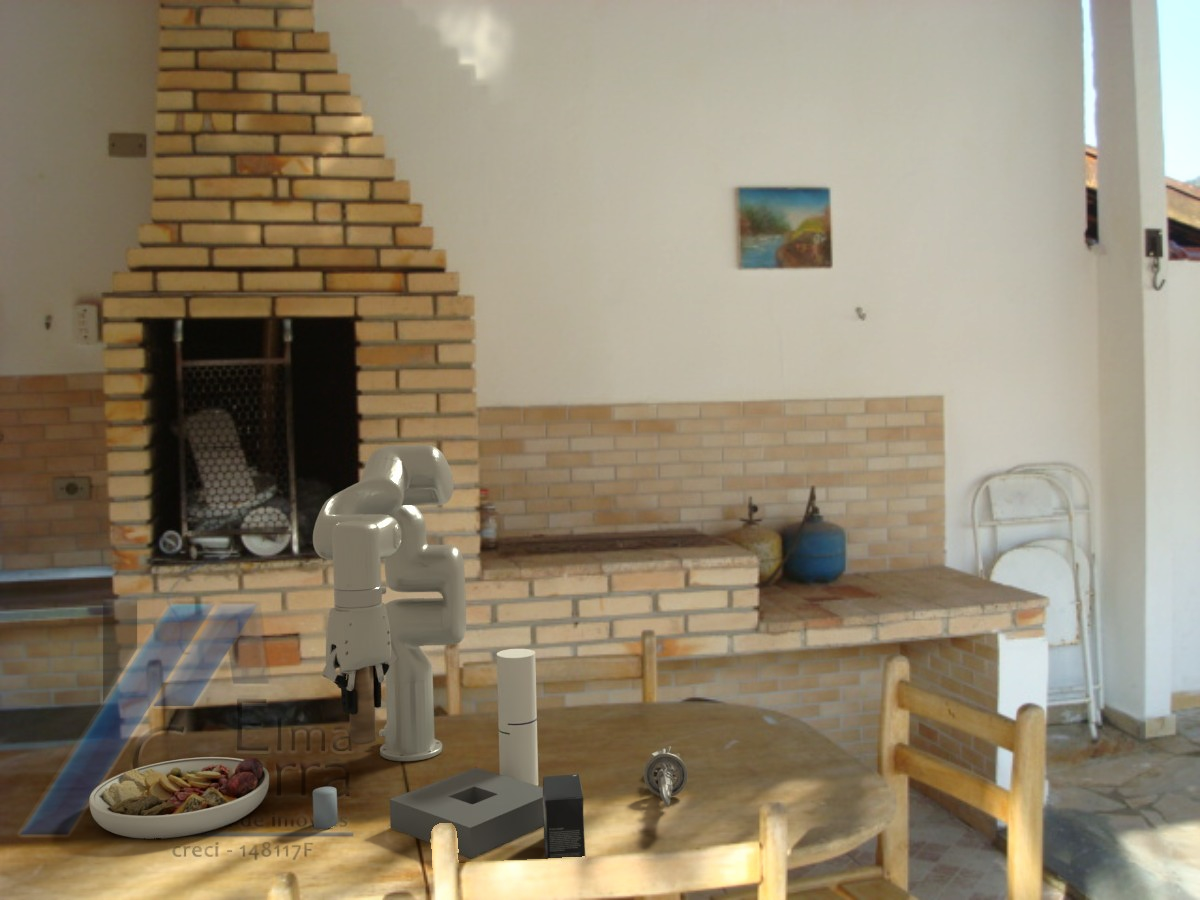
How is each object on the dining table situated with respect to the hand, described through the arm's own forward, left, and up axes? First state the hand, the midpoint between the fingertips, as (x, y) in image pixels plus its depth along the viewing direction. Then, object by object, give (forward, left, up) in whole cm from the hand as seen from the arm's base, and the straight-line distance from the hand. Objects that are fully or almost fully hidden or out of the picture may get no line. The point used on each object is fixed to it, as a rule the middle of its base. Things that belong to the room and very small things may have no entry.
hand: (362, 708), depth 184 cm
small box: (+26, +19, -23) cm, 40 cm away
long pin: (0, 0, -5) cm, 5 cm away
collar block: (+7, +17, -23) cm, 30 cm away
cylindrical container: (0, +35, -23) cm, 42 cm away
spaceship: (+25, +47, -23) cm, 59 cm away
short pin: (-13, +1, -23) cm, 26 cm away
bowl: (-39, -11, -23) cm, 47 cm away
